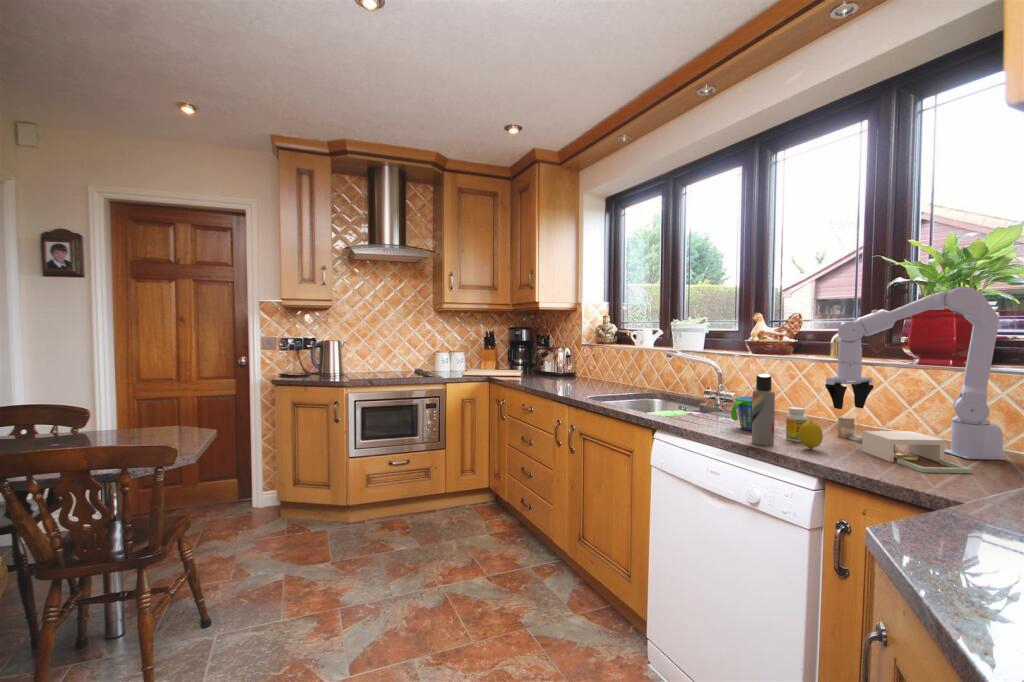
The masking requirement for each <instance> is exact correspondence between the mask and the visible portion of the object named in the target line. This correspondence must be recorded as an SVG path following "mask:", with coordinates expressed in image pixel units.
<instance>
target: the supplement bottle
mask: <svg viewBox="0 0 1024 682" xmlns="http://www.w3.org/2000/svg"><path fill="white" fill-rule="evenodd" d="M788 412H789V413H788V414H786V418H785V421H786V422H785V423H786V425H785V434H786V435H785V437H786V440H788V441H790V442H794V443H795V442H797V443H802V442H801V441H800V438H799V430H800V427H801V426H802V425H803V424H804V423H806V422H808V417H807V416H806V415H805V412H806V409H805V408H804V407H795V406H794V407H793V406H792V407H791V406H790V407H788Z"/></svg>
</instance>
